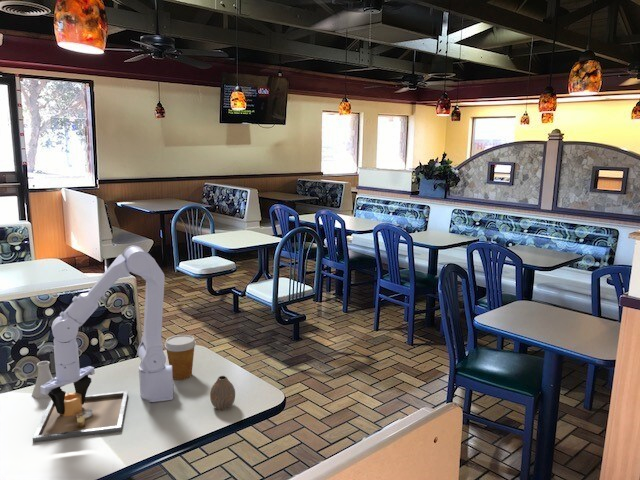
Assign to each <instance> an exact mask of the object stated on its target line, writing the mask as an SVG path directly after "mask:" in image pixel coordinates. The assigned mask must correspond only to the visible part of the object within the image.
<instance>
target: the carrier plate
mask: <svg viewBox="0 0 640 480" xmlns="http://www.w3.org/2000/svg"><path fill="white" fill-rule="evenodd" d="M122 399H123V397H118V398H108V399H99V400H90V401H84V404H83V405H82V410H85V409H90V410H92V411H93V416H92V417H91V418H90V419H88V420H85V427H84V428H78V427H77V419H76V414H75V415H72V416H63V415H60V414H59V413H57V410H56V407H55V405H54V407H53V410H52V412H51V414H50V416H49V418H48V420H47V423H46V425H45V427H44V429H43V431H42V433H41V435H45V434H53V433H61V432H70V431H78V430H86V429H94V428H102V427H110V426H117V423H118V419H119V414H120V409H121V404H122ZM125 410H126V408H125ZM122 426H123V424H122ZM115 433H116V432H114V434H115ZM106 434H108V433H106ZM106 434H105V435H106ZM98 435H100V434H98ZM98 435H97V436H98ZM92 436H93V435H90V436H89V437H92ZM83 437H85V436H82V437H81V438H83ZM75 438H76V439H77V437H74V438H73V439H75ZM67 439H69V438H66V439H65V440H67ZM58 440H61V439H58ZM58 440H57V441H58ZM51 441H53V440H50V441H49V442H51ZM43 442H45V441H42V442H41V443H43ZM34 443H37V442H34ZM34 443H33V444H34Z"/></svg>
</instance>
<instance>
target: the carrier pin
mask: <svg viewBox="0 0 640 480" xmlns="http://www.w3.org/2000/svg"><path fill="white" fill-rule="evenodd" d="M77 427H78V428H84V427H85V416H84V415H80V416H78V417H77Z"/></svg>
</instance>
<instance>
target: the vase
mask: <svg viewBox="0 0 640 480" xmlns="http://www.w3.org/2000/svg"><path fill="white" fill-rule="evenodd" d="M209 397H210V402H211V404H212V405H211V406H213V407H214V409H217V410H218V411H225V409H226V410H228V408H229V409H230V408H231V407H232V406H233V404H234V403H235V400H236V389H235V387H234V384H233V382H231V381H230V380H229V379H228V376H226V375H220V376H218V377H217V379H216V381H215V382H214V383H213V384H212V387H211V389H210V392H209Z"/></svg>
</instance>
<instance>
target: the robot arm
mask: <svg viewBox="0 0 640 480" xmlns="http://www.w3.org/2000/svg"><path fill="white" fill-rule="evenodd" d="M130 272H131V273H132V274H134V275H136V276H139V277H141V278H142V279H143V280H144V281H145V291H144V292H145V295H144V313H143V314H144V315H143V316H144V317H143V331H142V335H141V339H140V340H141V341H140V343H139V345H138V348H137V356H138V358H139V359H140V364H139V365H138V376H139V395H140V398H141V399H143V400H147V401H148V403H156V402H164V401H172V400H174V390H175V383H174V379H173V373H172V365H169V364H166V362H167V357H166V355H165V352H164V344H163V343H164V342H163V337H162V332H163V331H162V330H163V312H164V300H165V299H164V295H165V278H166V277H165V273H164V271H163V270H162V269H161V267H160V266H159V264H158V263H157V262H156V259H155V258H154V257H152V255H151V254H150V253H149V252H148V251H146V250H145V249H144V248H143V247H141V246H139V245H129V246H127V247H126V248H125V249H124V250H123V252H122V254H121V253H120V254H119V255H118V256H117V257H116V258H115V259H114V261H112V263H111V264H110V265H109V267H107V268H106V270H105V271H104V273H102V275H101V276H100V278H99V279H98V280H97V281H96V282H95V284H93V286H92V287H91V288H90V289H89V291H87V292H82V293H80V294H79V295H77V296H76V295H74V296H73V298H72V302H71V303H70V304H69V306H68V307H67V308H66V309H65V310H64V311H61V312H59V316H57V317H56V318H55V319H54V320H53V321H52V325H51V332H52V336H53V337H54V338H53V353H54V354H53V355H54V357H53V358H54V365H55V366H54V367H55V377H53V379H52V380H51V381H49V382H47V383H46V384H44V385H42V386H40V390H41V393H42V394H44V395H47V394H48V395H49V398H50V400H51V399H52V401H53V403H54V405H55V407H56V410H57V413H59V414H64V412H65V407H64V399H65V394H67V392H66V391H65V390H63V389H62V387H64V386H66V385H67V386H68V385H70V384H73V386H74V391H75V392H76V393H79V394H81V398H82V405H83V404H84V401H85V396H86V395H87V391H88V389H89V387H90V385H91V383H92V378H91V377H89V376H92V375H95V373H96V372H95V367H94V366H90V365H89V366H86V367H82V368H80V358H79V357H80V355H79V346H78V345H79V344H78V342H77V336H78V333H79V328H81V327H82V326H83V325H84V324H85V323H86V321H87V320H89V318H90V316H92V315H93V313H94V312H95V311H96V310H97V309H98V308H99V300H100V299H101V298H102V297H103V296H105V295H104V294H105V293H107V291H108V290H110V289H111V288H112V286H113V285H114V284H115V283H116V282H117V281H119V279H123V278H129V277H131V276H132V275H131V273H130ZM75 392H74V393H75Z"/></svg>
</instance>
